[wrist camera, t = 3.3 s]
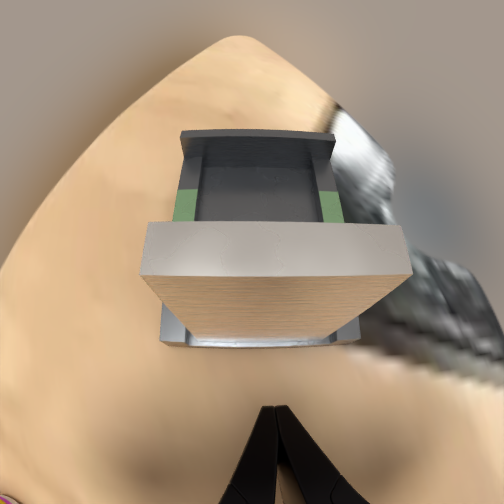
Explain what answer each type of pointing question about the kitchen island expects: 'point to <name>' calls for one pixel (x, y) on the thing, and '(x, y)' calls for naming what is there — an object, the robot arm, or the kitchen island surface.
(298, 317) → the block
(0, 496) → the supplement bottle
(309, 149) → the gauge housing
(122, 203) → the kitchen island surface
